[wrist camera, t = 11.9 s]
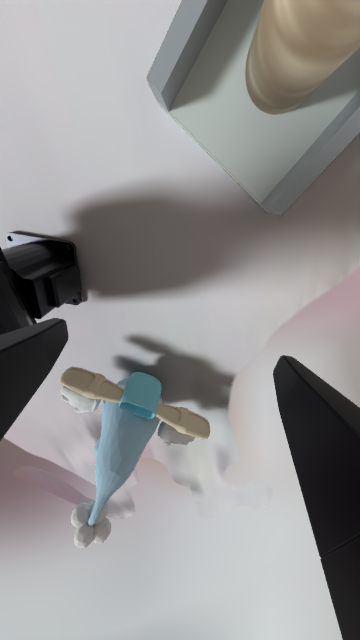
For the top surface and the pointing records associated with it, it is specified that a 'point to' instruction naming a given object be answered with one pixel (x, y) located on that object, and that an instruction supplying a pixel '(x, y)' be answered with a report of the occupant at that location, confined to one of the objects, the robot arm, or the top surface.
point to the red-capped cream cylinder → (298, 49)
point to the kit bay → (250, 104)
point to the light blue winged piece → (122, 435)
